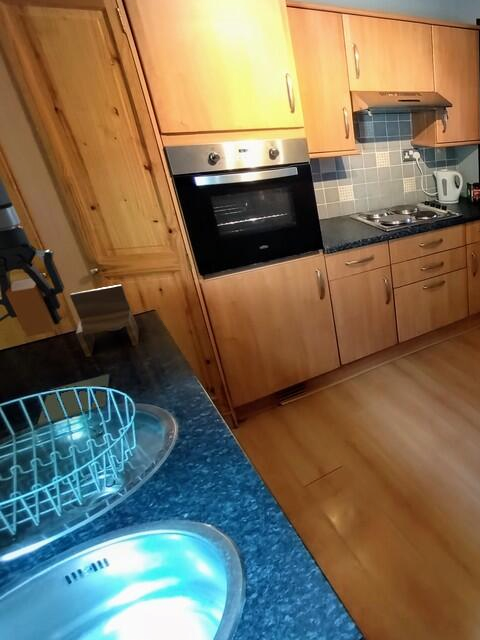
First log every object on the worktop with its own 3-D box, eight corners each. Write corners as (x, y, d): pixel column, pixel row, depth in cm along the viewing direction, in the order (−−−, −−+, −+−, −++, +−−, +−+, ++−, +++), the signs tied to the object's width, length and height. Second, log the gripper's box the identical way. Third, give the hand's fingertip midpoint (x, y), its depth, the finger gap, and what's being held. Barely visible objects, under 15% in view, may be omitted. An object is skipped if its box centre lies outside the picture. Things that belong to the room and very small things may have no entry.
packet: (33, 323, 107) (13, 281, 103) (59, 318, 110) (40, 276, 105) (27, 337, 101) (5, 292, 97) (54, 331, 104) (34, 287, 99)
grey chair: (90, 340, 140) (69, 293, 134) (138, 329, 147) (121, 284, 140) (86, 357, 131) (64, 308, 125) (138, 344, 138) (119, 297, 131)
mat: (49, 391, 116) (48, 389, 116) (109, 375, 123) (108, 373, 122) (38, 425, 104) (37, 423, 104) (105, 406, 111) (104, 404, 111)
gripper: (-72, 240, 88) (-16, 343, 98) (50, 225, 98) (90, 320, 107) (-59, 231, 94) (-7, 329, 103) (55, 218, 103) (93, 309, 113)
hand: (42, 324), depth 105 cm, fingers closed on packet, 4 cm apart
